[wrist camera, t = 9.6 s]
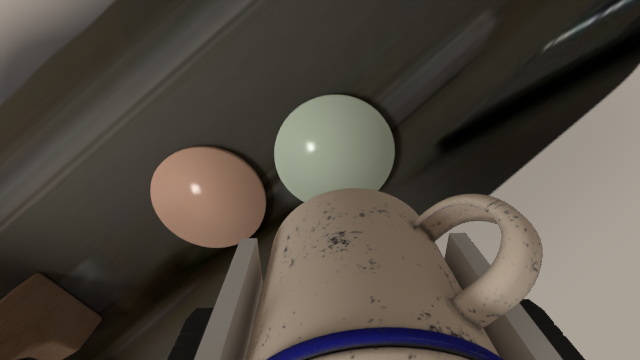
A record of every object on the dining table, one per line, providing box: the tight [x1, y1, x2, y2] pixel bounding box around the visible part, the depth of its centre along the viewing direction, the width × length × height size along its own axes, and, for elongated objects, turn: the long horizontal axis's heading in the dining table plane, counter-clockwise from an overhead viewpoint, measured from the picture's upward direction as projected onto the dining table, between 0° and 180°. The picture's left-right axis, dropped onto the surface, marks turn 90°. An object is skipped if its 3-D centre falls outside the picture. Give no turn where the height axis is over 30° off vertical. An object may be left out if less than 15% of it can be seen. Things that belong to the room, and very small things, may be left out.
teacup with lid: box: [246, 188, 543, 360], centre depth 11 cm, size 12×9×12 cm
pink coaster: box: [150, 145, 267, 248], centre depth 30 cm, size 11×11×1 cm
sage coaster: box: [274, 94, 395, 202], centre depth 28 cm, size 11×11×1 cm
